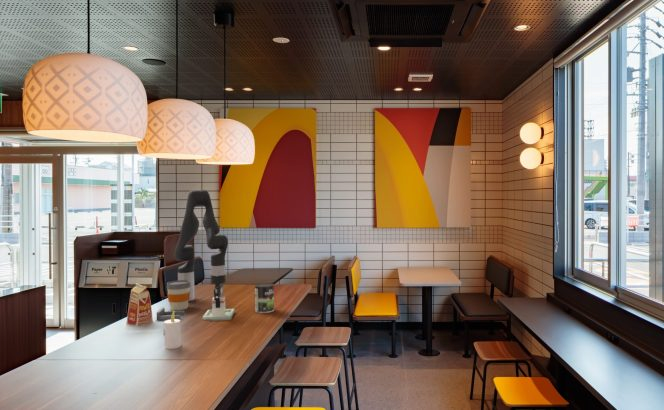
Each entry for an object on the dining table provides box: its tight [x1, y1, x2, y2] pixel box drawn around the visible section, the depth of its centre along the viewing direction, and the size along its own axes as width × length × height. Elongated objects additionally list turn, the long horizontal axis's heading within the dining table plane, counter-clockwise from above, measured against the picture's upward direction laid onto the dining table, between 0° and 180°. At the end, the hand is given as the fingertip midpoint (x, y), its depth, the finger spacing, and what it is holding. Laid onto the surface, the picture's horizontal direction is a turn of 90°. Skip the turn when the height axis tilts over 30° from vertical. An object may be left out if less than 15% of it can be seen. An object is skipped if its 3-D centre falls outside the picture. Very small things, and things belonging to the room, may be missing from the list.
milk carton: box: [125, 282, 153, 327], centre depth 212 cm, size 9×9×20 cm
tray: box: [202, 308, 235, 322], centre depth 222 cm, size 14×14×2 cm
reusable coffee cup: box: [166, 279, 190, 311], centre depth 239 cm, size 13×13×15 cm
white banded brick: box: [211, 296, 226, 316], centre depth 222 cm, size 4×6×9 cm
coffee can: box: [254, 282, 275, 314], centre depth 232 cm, size 10×10×14 cm
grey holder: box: [155, 307, 188, 322], centre depth 220 cm, size 11×13×5 cm
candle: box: [163, 310, 182, 350], centre depth 178 cm, size 6×6×15 cm
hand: (218, 306), depth 222 cm, fingers open, 5 cm apart
